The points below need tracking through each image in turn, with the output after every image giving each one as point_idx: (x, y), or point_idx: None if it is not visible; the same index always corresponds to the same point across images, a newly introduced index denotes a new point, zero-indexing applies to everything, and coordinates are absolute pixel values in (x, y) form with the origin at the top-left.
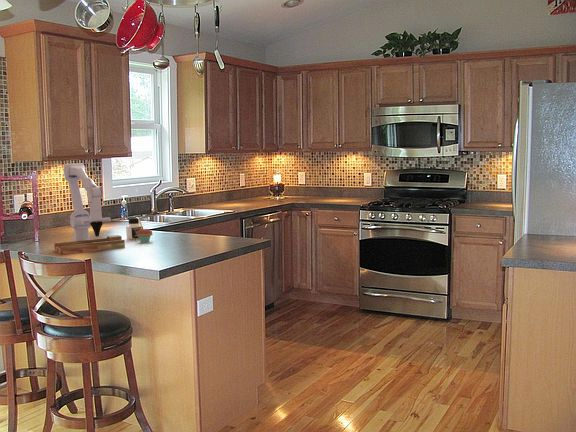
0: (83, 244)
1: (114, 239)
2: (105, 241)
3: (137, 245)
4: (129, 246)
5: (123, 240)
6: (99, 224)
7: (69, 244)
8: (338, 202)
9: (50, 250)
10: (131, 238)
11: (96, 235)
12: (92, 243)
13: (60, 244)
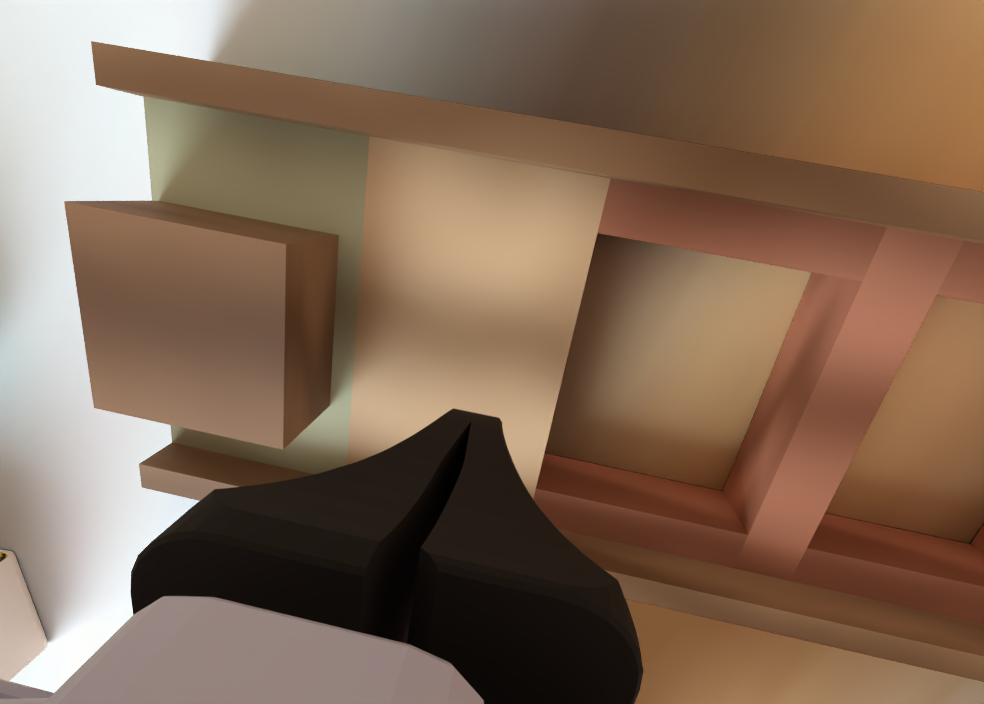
0: (921, 184)
1: (237, 225)
2: (337, 446)
3: (17, 108)
4: (128, 119)
5: (121, 46)
6: (332, 522)
7: (830, 594)
8: None
9: (945, 673)
10: (5, 569)
11: (499, 423)
12: (730, 149)
13: (975, 636)
